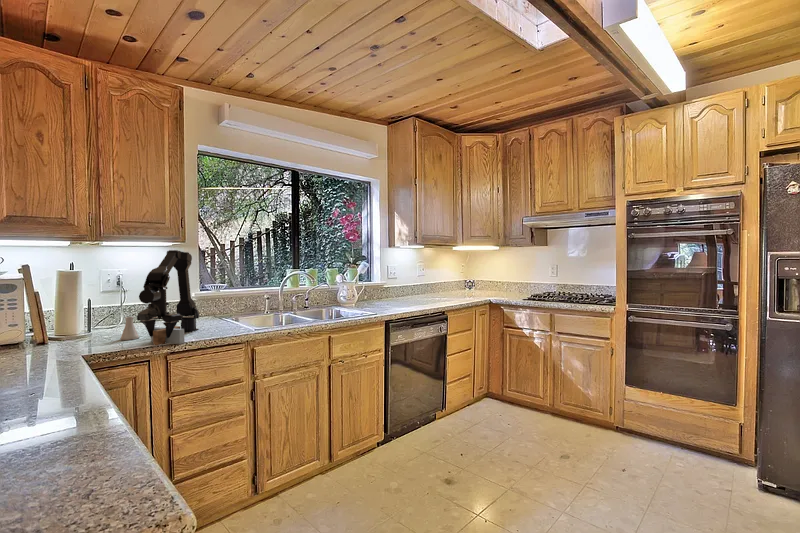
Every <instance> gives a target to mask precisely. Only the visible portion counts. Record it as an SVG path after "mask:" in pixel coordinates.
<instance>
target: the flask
mask: <svg viewBox="0 0 800 533" xmlns="http://www.w3.org/2000/svg"><path fill="white" fill-rule="evenodd" d="M124 319H125V325H124V329H123V331H122V333H121V336H120V340H121V341H131V340H137V339H139V338H140V336H139V333H138V331H137V329H136V327H135V324H134V316H126V317H124Z"/></svg>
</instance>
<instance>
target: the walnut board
mask: <svg viewBox="0 0 800 533" xmlns="http://www.w3.org/2000/svg"><path fill="white" fill-rule="evenodd" d="M164 328H165V329H160V330H155V331H153V342H152V343H153V346H161V345H164V344H165V345H166V343H165V337H166V327H164ZM174 328H176V329H181V325H180V326H179V325H176V326H175V327H174Z"/></svg>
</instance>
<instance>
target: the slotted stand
mask: <svg viewBox="0 0 800 533" xmlns="http://www.w3.org/2000/svg"><path fill="white" fill-rule="evenodd" d="M165 328H166V327H160V326H159V327H157V326H155V328H154V331H155V330H160V329H165ZM150 342H151V343H153V336H152V337H150ZM184 343H185V332H184V329H181V328H180V329H176V328H174V329H173V331H172V333H171V335H170V337H169V338H167V336H166V337H165V344H175V345H181V344H184Z"/></svg>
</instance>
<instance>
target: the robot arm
mask: <svg viewBox="0 0 800 533" xmlns="http://www.w3.org/2000/svg"><path fill="white" fill-rule="evenodd" d="M192 260H193V256H192V255H191V253H190V252H189V251H186V252H185V251H181V250H178V249H174V250H173V249H169V250H167V251H166V254H165V256H164V257H163V259H162V261H161V262H160V263H159V265H158V266H157V267H155V268H153V269H152V270H150V271H149V272H148V274H147V276H146V277H145V281H144V284H143V289H142V291H140V293H139V295H138V299H139V301H140V302H141V303H143V304H146V305H147V308H144V309H143V310H141V311H139V312H138V313H137V315H136V321H139V323H141V324H143V325H144V326H145V329H146V331H147V332H148V335H149V337H150V338H151V337H152V336H153V331H154V328H155V327H156V321H157V320H163V322H162V324H163V325H164V327H165V328H166V336H167V338H169V337H170V335H171V333H172V331H173V329H174V327H175V326H177V324H178V323H179V322H180V329H184V333H190V332H196V331H199V330H200V329H199V328H197V319H199V318H200V312H199V310H198V308H197V307H196V302H195V301H194V300H193V298H192V295H191V286H190V277H189V276H190V275H189V269H190V267H191V265H192ZM173 268H174V269H175V270H176V272H177V282H178V291H179V300H178V303H177V304H176V306H175V307H176V313H170V311H168V310H167V308H168V307H167V306H169V305H170V302H167V290H168V288H169V287H168V283H169V282H170V278H171V277H170V272H171V271H172V269H173Z"/></svg>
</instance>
